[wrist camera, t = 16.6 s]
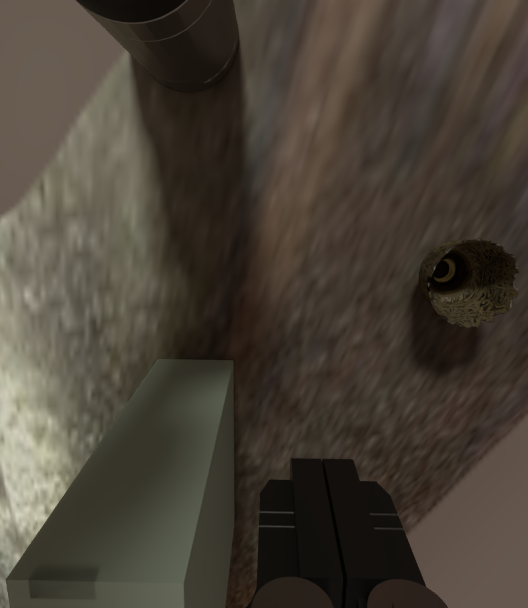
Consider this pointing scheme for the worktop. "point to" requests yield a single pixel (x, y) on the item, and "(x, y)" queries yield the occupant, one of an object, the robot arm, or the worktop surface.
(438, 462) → the worktop surface
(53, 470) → the worktop surface
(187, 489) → the block
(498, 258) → the cup
